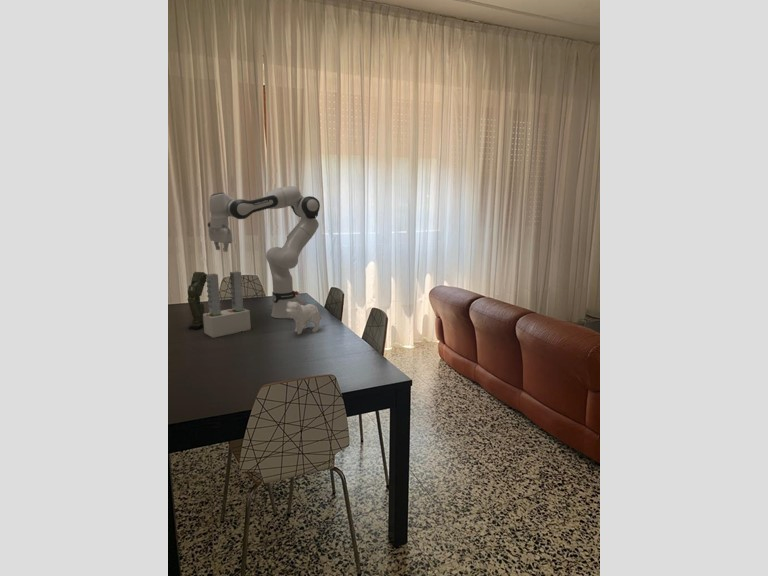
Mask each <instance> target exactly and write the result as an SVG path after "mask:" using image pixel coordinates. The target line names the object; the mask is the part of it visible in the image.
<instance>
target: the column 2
mask: <svg viewBox="0 0 768 576" xmlns="http://www.w3.org/2000/svg"><path fill="white" fill-rule="evenodd" d="M229 280H230V283H229V285H230V288H229V289H230V295H231V297H230V299H231V309H232V310H233V312H240V311H243V308H244V301H243V284H242V283H243V282H242V272H241V271H229Z"/></svg>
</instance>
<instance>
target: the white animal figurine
mask: <svg viewBox="0 0 768 576" xmlns="http://www.w3.org/2000/svg"><path fill="white" fill-rule="evenodd" d="M286 312H287V314H288V315H289V316H292V317H293V318H292V319H293V320H294V321H295V330H294V332H295V333H297V335H301V334H303V329H307V328H309V322H311V323H313V324H314V326H313V327H314V328H312V330H311V332H312V333H315V332H317V331H318V330H319V328H320V327H319V326H320V322H321V319H324V317H323V316H322V315H321V313H320V311H319V309H318V308H317V306H316V305H314V304H312V303H307V304H305V306H304V305H300V304H299V303H297V302H290V301H289V302H288V303H287V309H286Z"/></svg>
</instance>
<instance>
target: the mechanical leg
mask: <svg viewBox="0 0 768 576" xmlns="http://www.w3.org/2000/svg"><path fill="white" fill-rule="evenodd" d="M206 274H207V273H205V271H204V272H203V271H202V272H201V271H194V272H193V273H192V278H191V283H190V285H188V289H187V296H188V297H187V303H188V305H189V309H190V313H191V315H192V321H191V324H190V326H189V327H188V329H189V330H191V329H193V330H194V331H198V329H199V330H200V329H204V321H203V314H205V306H204V303H201V298H200V297H202V294H203V290H204V288H205V285H206V283H207V282H206V280H207V277H206Z"/></svg>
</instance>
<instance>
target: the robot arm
mask: <svg viewBox="0 0 768 576" xmlns="http://www.w3.org/2000/svg"><path fill="white" fill-rule="evenodd" d="M208 204H209V212H210V221H208V222H207V227H208V235H209V240H210V241H212V242H213V245H214V246H215V250H216V251H220V250H221V247H220V245H219V244H220V243H222V244H223V248H222V250H223V252H224V253H227V252H229V250H228V249H229V244H232V243H233V234H232V230H231V228H230V222H229V217H231V218H235V219H237V220H244V219H247V218H248V217H250V216H251V215H252V214H254V213H257V212H261V211H265V210H278V209H283V208H288V207H290V208H291V209H292V211H293V214H295V216H297V217H299V218H300V220H299V222H298V223H297V224H295V226H294V227H293V228H292V230H291V231H290V232H289V233H288V234H287V236H286V240H285V242H284V245H283V246H282V247H279V246H275V247H271V248H269V249H268V250H267V251H266V254H265V258H266V261H267V263H268V266H269V270H270V274H271V279H272V291H271V292H272V294H271V295H272V302H273V303H272V310H271V311H272V312H271V315H270V316H271V317H272V318H276V319H293V317H292V316H289V315H288V314H287V312H286V309H287V303H288V302H289V301H290V302H297V303H299V304H300V305H304V306H305V305H306V304H305V301H304V300H301V299H300V298H298V297H297V296H298V295H299V294H300V292H299V291H297V290H294V288H293V283H294V282H293V276H292V274H291V273H290V270H291V269H294V268H296V267H297V265H298V263H299V257H300V255H301V252H302V250H303V249H304V247H306V245H307V244H308V242H309V241H310V240H311V239H312V238H313V236H314V235H315V233H317V230H318V228H319V226H320V223H319V221H318V219H317V218H318V216H319V211H320V208H321V204H320V201H319V200H318V198H316V197H314V196H312V195H311V196H303V195H302V193H301V190H300V189H299V188H298V187H297V186H295V185H294V186H289V185H288V186H282V187H276V188H274V189H271V190H269V191H267V192H266V194H265V196H262V197H259V198H254V199H251V200H246V199H242V198H240V199H239V198H234V197H232V196H230V195H228V194H226V193H225V192H217V193H212V194H211V195H210V196H209V203H208Z"/></svg>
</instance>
